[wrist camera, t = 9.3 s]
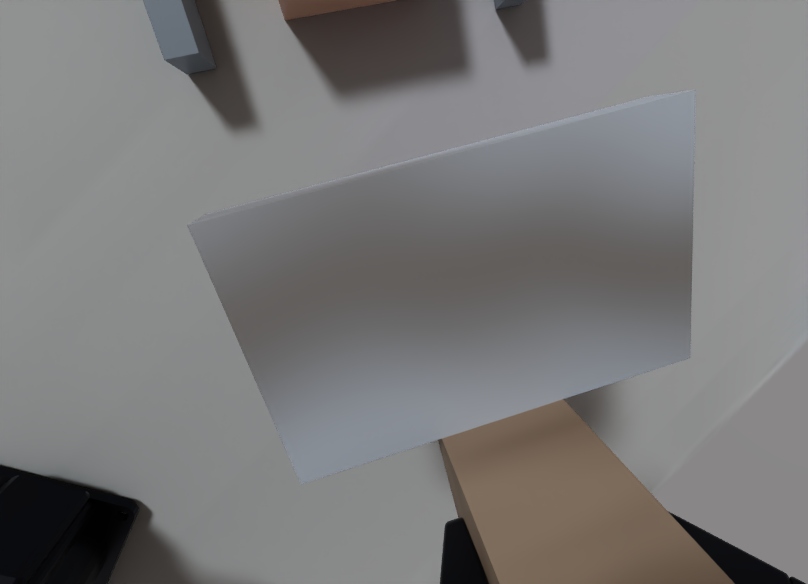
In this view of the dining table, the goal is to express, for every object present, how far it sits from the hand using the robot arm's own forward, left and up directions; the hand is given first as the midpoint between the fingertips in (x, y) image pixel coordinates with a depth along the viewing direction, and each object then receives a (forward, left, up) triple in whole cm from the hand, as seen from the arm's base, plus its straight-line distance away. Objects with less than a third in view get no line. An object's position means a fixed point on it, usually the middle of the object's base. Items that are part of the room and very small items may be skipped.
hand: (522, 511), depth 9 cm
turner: (0, 0, -1) cm, 1 cm away
